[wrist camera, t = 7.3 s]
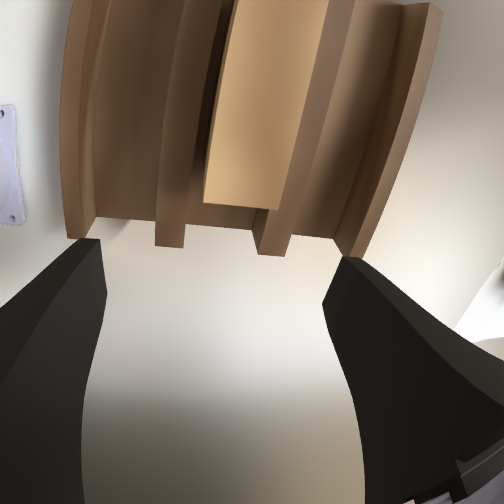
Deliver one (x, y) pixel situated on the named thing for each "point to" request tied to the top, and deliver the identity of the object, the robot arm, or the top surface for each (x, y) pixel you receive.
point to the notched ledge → (199, 110)
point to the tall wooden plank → (260, 99)
